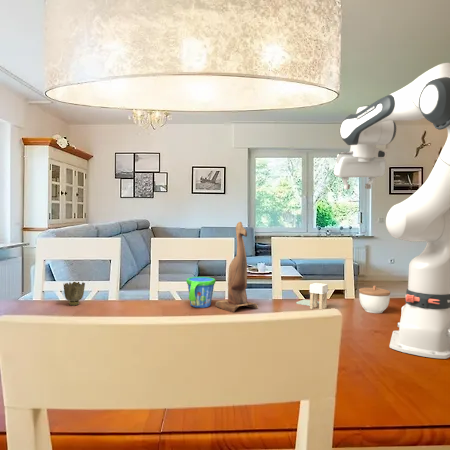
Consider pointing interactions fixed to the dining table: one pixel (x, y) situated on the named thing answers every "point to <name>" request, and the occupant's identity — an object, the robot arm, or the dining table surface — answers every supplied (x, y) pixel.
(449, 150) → the robot arm
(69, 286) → the cup
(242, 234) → the bird sculpture
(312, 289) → the stool
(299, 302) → the mat
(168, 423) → the dining table surface
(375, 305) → the lidded jar
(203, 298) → the snack cup
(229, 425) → the dining table surface
